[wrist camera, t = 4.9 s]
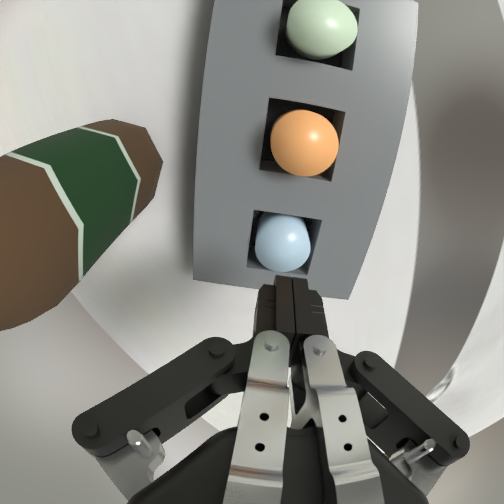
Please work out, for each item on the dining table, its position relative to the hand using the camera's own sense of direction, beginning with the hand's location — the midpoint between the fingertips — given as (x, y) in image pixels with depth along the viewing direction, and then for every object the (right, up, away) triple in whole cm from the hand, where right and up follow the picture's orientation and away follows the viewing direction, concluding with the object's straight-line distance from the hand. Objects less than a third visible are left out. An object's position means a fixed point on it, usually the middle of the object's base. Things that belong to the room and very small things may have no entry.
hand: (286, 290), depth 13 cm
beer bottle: (-12, +9, +6) cm, 16 cm away
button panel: (+1, +10, +4) cm, 11 cm away
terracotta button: (+1, +9, +3) cm, 10 cm away
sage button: (+2, +15, -1) cm, 15 cm away
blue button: (+1, +4, +7) cm, 8 cm away
